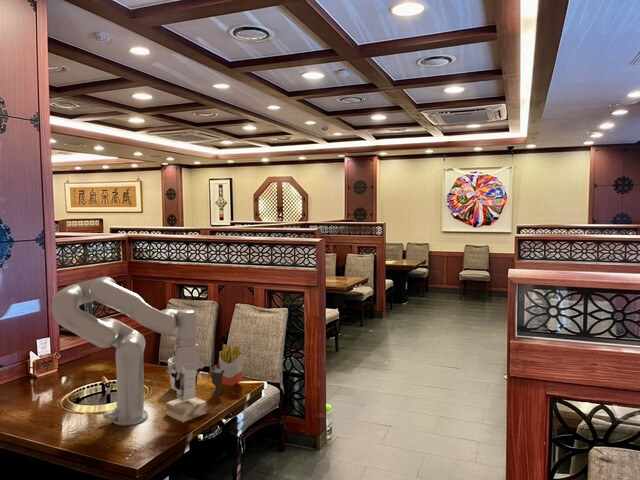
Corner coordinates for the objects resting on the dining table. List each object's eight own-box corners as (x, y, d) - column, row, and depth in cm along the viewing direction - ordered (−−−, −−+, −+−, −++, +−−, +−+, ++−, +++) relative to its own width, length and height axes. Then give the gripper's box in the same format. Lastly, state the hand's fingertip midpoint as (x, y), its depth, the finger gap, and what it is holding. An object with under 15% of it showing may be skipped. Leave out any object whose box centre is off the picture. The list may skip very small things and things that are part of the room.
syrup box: (175, 396, 185) (176, 360, 184) (190, 393, 189) (190, 357, 188) (181, 401, 180) (181, 364, 180) (196, 397, 184) (196, 361, 183)
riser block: (182, 423, 177) (182, 410, 177) (166, 415, 184) (166, 402, 184) (206, 413, 186) (206, 401, 185) (189, 406, 193) (189, 394, 192)
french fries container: (236, 387, 213) (236, 348, 212) (217, 383, 218) (217, 345, 217) (242, 384, 217) (242, 346, 216) (223, 380, 222) (224, 343, 221)
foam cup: (178, 382, 218) (178, 355, 217) (193, 386, 214) (194, 358, 213) (163, 389, 210) (163, 360, 209) (178, 393, 205) (178, 364, 205)
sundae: (221, 396, 202) (221, 362, 201) (206, 395, 204) (206, 361, 203) (227, 391, 209) (227, 358, 208) (213, 389, 210) (213, 357, 209)
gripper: (168, 347, 175) (167, 394, 176) (210, 340, 186) (210, 385, 187) (161, 342, 181) (160, 388, 182) (202, 336, 192) (202, 379, 193)
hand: (185, 386), depth 184 cm, fingers closed on syrup box, 5 cm apart
